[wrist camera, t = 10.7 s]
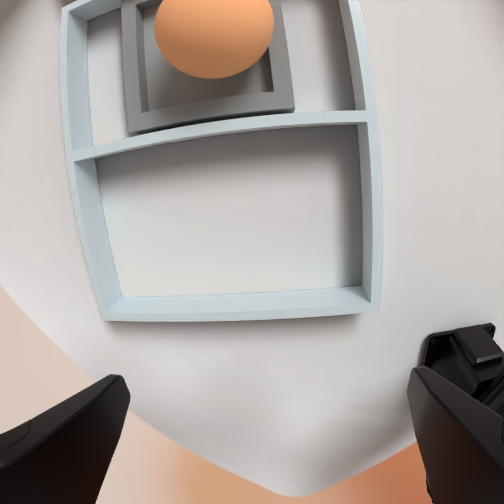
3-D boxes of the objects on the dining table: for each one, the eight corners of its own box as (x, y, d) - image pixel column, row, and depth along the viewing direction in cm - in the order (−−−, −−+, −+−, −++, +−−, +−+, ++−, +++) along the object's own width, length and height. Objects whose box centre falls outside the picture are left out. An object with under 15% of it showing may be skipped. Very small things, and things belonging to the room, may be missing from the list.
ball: (256, 87, 18) (302, 60, 12) (154, 95, 16) (161, 63, 10) (246, 4, 16) (285, -42, 10) (149, 7, 14) (157, -47, 9)
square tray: (294, 110, 17) (294, 107, 16) (138, 133, 18) (128, 132, 17) (274, -25, 14) (273, -36, 13) (131, 4, 16) (121, -3, 14)
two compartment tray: (370, 293, 20) (379, 311, 18) (117, 304, 23) (102, 320, 20) (338, -34, 14) (344, -53, 11) (81, 17, 16) (61, 7, 14)
